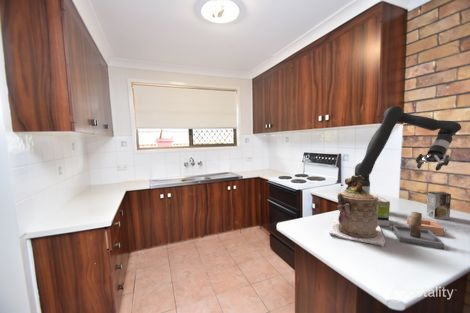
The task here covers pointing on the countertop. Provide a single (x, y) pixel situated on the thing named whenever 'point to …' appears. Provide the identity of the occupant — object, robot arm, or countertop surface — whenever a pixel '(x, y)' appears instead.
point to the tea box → (383, 211)
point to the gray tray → (425, 239)
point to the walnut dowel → (416, 224)
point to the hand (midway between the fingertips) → (427, 168)
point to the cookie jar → (357, 214)
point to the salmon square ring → (429, 226)
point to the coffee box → (438, 205)
